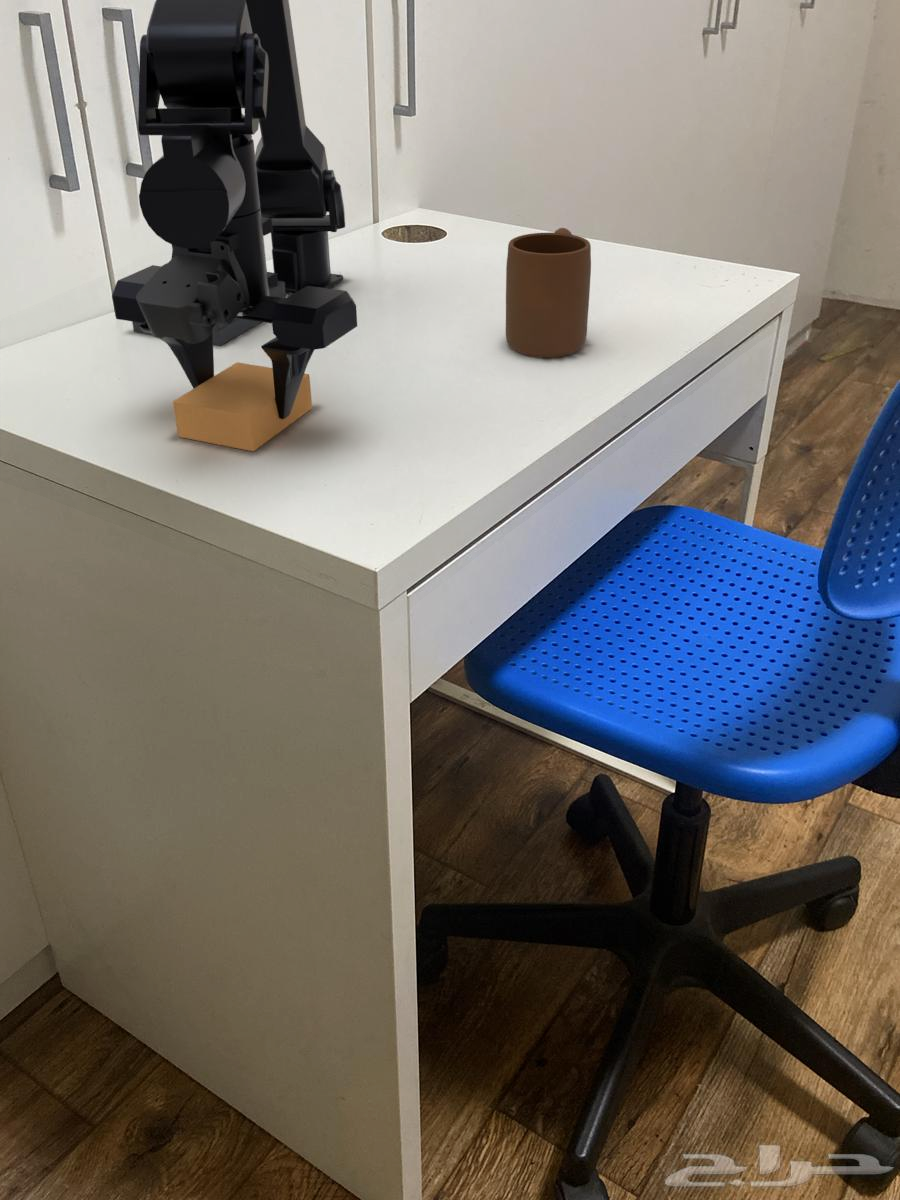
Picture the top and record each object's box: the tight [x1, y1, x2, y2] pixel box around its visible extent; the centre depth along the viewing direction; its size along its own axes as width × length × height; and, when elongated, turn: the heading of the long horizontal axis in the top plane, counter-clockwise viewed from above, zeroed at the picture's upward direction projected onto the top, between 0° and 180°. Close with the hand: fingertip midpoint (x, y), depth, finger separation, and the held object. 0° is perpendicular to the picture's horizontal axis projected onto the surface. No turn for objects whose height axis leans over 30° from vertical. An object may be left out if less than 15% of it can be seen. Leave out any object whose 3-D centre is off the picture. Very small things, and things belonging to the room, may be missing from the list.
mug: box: [505, 227, 592, 358], centre depth 102 cm, size 12×8×9 cm, turn 164°
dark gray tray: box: [131, 281, 287, 347], centre depth 109 cm, size 12×10×3 cm
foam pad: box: [172, 362, 313, 452], centre depth 88 cm, size 9×7×3 cm
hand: (245, 410), depth 88 cm, fingers closed on foam pad, 7 cm apart
